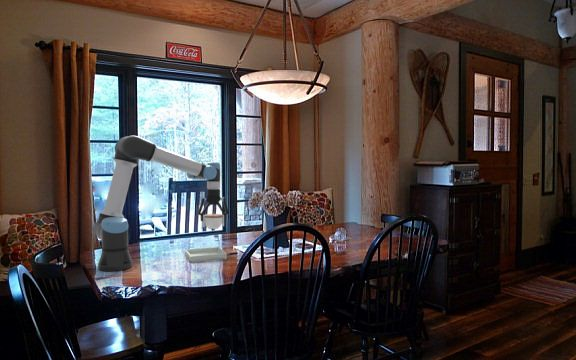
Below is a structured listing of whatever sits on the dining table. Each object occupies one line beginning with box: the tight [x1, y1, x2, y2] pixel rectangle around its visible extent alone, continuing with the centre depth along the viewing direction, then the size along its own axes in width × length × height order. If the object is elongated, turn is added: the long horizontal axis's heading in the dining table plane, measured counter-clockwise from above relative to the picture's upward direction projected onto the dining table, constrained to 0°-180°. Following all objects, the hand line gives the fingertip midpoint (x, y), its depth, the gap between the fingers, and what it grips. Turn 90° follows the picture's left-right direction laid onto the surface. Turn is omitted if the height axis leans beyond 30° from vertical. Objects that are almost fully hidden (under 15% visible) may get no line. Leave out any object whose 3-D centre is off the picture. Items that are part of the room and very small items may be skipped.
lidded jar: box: [204, 212, 223, 230], centre depth 239 cm, size 11×11×9 cm
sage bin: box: [184, 246, 228, 263], centre depth 218 cm, size 19×19×3 cm
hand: (213, 226), depth 239 cm, fingers closed on lidded jar, 11 cm apart
